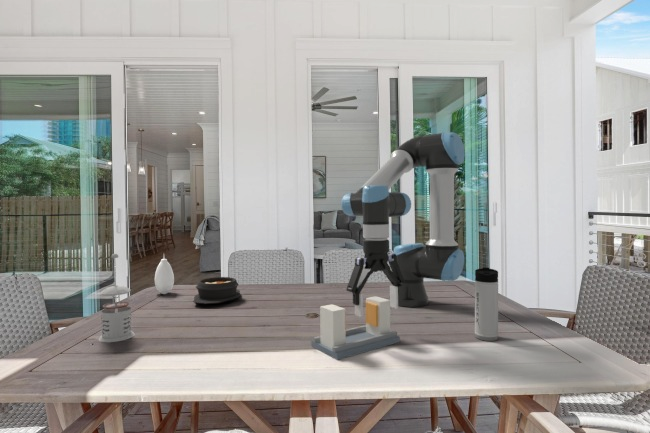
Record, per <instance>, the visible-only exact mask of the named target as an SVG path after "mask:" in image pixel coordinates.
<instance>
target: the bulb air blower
mask: <svg viewBox="0 0 650 433" xmlns="http://www.w3.org/2000/svg"><path fill="white" fill-rule="evenodd" d="M162 255H163V258H162V259H160V262H159V264H158V265H157V266H156V270H155V274H154V285H155V288H156V291H158V293H159V292H160V294H162V295H166V294H167V295H168V293H170V292H171V291H172V290H173V287H174V283H175V275H174V270H173V268H172V266H171V263H170V262H168V259H167V258H165V253H163V254H162Z"/></svg>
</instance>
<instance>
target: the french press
mask: <svg viewBox="0 0 650 433" xmlns="http://www.w3.org/2000/svg"><path fill="white" fill-rule="evenodd" d="M110 258H111V259H114V265H116V259H118V258H119V254H117V253H112V254H111V256H110ZM116 274H117V272H116V268H114V285H113V286H108V287H106V288H104V290H102V291H100V292H99V293H100V295H102V296H105V297H109V296H110V297H111V296H112V302H108V303H105V304H103V305H102V308H103V309H102V310H100V317H101V318H100V320H101V323H100V324H101V335H100V337H99V338H98V341H99V342H102V343H114V342H115V343H118V342H120V341H126V340H128V339H131V338H133V337H134V336H135V335H136V334H135V332H134V331H133V330H132V308H131V307H130V306H129V305H130V302H128V301H121V300H120V299H121V298H120V296H122V295H125V294H129V293H130V292H131V288H129V287H127V286H124V285H117V281H116V280H117V278H116ZM117 299H118V301H117ZM116 310H117V312H116Z"/></svg>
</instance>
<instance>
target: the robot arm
mask: <svg viewBox="0 0 650 433" xmlns="http://www.w3.org/2000/svg"><path fill="white" fill-rule="evenodd" d="M465 154H466V152H465V146H464V143H463V141H462V138H461V136H460V135H459V134H458V133H456V132H441V133H434V134H426V135H418V136H415V137H412V138H410V139H409V140H406V141H405V142H404V143H402V144H400V145H399V146H398V147H397V148H395V149H394V150H393V152H391V154H390V155H389V159H388V160H387V161H386V162H385V163H384V164H383V165H382V166H381V167H380V168H379V169H378V170H377V171H376V172H375V173H374V174H373V175H372V176H371V177H369V179H368V180H366V182H364V184H363V185H362V186H361V187H360V188H359V189H358V190H357V191H356V192H354V193H353V192H350V193H346V194H344V195H343V197H342V198H341V202H340V203H341V204H340V205H341V209H342V213H344V214H345V215H346V216H349V217H362V237H363V238H364V239H363V240H362V251H363V254H364V256H363V257H358V256H356V257H355V261H354V267H353V269H352V272H351V275H350V278H349V281H348V283H347V286H346V292H350V293H352V304H353V305H354V316H356V317H359V318H363V317H364V303H363V302H364V298H363V297H364V293H362V290H363V289H364V287H365V285H366V283H367V282H368V280H369V278H370V276H371V275H372V274H373V273H375V272H376V273H377V272H382V273H383V274H384V276H385V277H386V278H387V279H388V281H389V282H390V284H391V285H389V295H388V300H390V308H392V309H396V310H397V309H399V306H400V307H406V308H407V307H408V308H410V307H411V308H416V307H423V306H424V307H425V306H427V305H428V304H429V296H428V295H427V290H426V287H425V282H424V279H430V280H431V279H432V280H438V281H443V282H445V281H446V282H447V281H448V282H454V281H456V280H458V279H459V278H460V276H461V274H462V273H463V269H464V265H465V255H464V251H463V250H461V249H459V243H458V242H457V241H456V240H455V239H454V238H455V226H454V225H455V174H456V173H457V172H458V171H459V165H461V164H463V163H464V161H465V158H466V157H465V156H466V155H465ZM420 167H422V168H423V167H425V171H426V173H428V174H429V239H428V240H427V241H426V242H425V245H424V243H423V242H419V243H417V242H416V243H407V244H400V245H396V246H394V247H393V253H392V252H390V239H388V238H390V218H395V217H396V218H397V217H398V218H400V217H404V216H405V215H407V214H408V213H409V212H410V211H411V208H412V200H411V197H410V196H409V194H406V193H404V192H400V191H393V192H392V191H390V189H391V188H392V187H393V186H394V185H395V184H396V183H397V182H398V180H400V178H402V177H403V175H404V174H406V173H409V172H410V171H411V170H413V169H414V168H420Z"/></svg>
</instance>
